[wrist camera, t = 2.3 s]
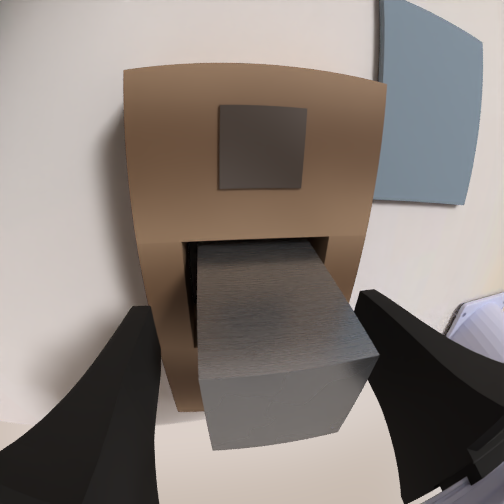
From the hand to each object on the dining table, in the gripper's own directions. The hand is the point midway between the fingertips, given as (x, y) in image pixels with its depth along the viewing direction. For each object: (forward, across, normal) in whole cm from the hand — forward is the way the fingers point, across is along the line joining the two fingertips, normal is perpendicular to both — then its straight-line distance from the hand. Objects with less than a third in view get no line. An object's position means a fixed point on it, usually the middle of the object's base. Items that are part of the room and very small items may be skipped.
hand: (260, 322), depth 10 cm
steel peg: (+4, 0, 0) cm, 4 cm away
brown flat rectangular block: (+4, 0, 0) cm, 4 cm away
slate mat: (+4, -9, -8) cm, 13 cm away
